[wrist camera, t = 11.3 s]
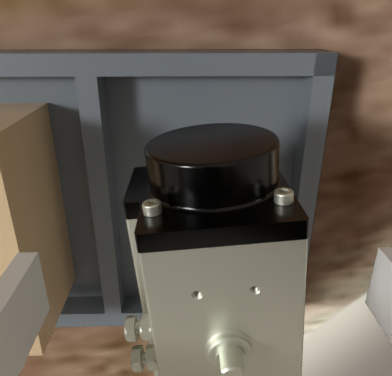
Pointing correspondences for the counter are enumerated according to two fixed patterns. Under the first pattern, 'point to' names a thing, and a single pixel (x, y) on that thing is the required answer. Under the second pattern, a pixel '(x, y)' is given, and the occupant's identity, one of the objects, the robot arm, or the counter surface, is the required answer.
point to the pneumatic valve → (216, 255)
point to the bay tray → (131, 152)
